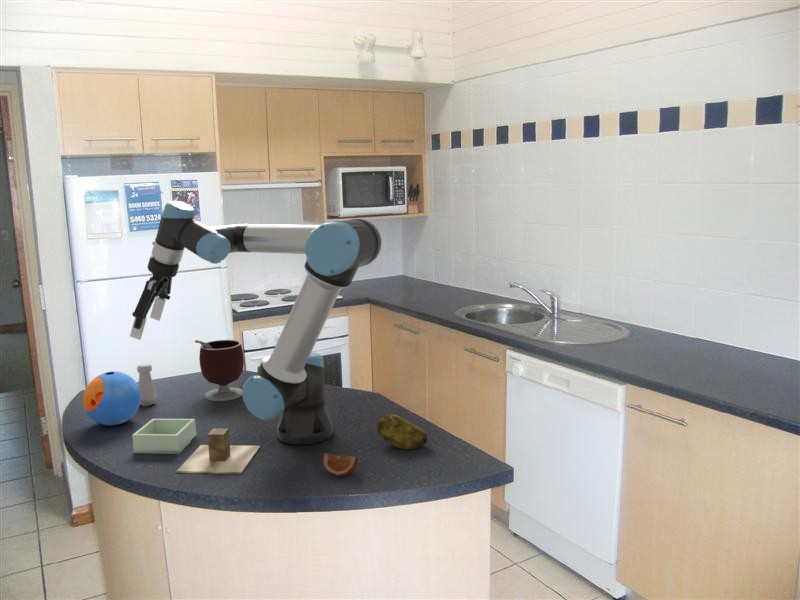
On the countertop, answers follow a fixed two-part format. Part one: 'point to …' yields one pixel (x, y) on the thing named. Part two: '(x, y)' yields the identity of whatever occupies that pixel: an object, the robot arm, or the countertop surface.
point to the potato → (400, 432)
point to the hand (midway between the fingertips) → (145, 327)
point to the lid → (219, 456)
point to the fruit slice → (339, 464)
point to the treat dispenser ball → (112, 398)
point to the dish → (164, 436)
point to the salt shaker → (146, 385)
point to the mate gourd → (221, 367)
